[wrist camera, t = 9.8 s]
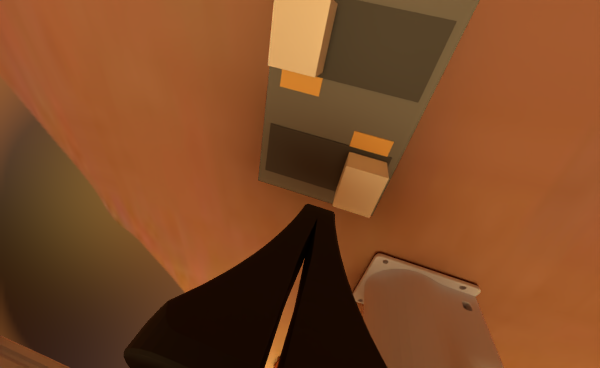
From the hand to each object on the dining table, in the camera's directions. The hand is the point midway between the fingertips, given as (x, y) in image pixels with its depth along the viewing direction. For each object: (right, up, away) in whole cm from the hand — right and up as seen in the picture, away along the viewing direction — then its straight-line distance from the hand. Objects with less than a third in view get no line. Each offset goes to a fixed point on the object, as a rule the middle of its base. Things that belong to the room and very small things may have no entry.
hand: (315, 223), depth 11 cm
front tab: (0, +10, +1) cm, 10 cm away
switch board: (+2, +7, +5) cm, 9 cm away
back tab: (+3, +2, +4) cm, 6 cm away
